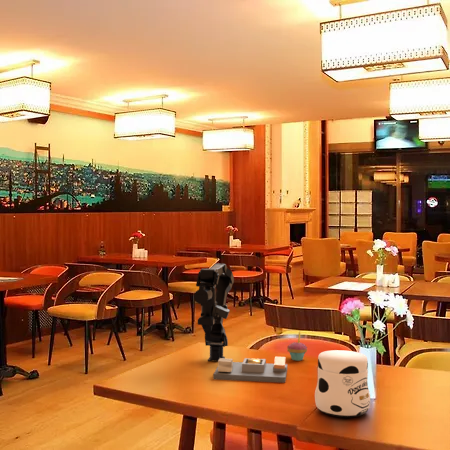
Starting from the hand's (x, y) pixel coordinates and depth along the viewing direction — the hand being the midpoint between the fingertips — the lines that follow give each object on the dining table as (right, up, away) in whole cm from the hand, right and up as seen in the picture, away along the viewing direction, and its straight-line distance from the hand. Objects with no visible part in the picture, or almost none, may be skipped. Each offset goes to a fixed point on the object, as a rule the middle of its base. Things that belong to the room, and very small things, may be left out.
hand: (208, 338), depth 238 cm
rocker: (+28, -7, -11) cm, 31 cm away
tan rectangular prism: (+7, -10, -13) cm, 18 cm away
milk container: (+44, -14, -51) cm, 69 cm away
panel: (+17, -12, -9) cm, 23 cm away
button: (+18, -10, -9) cm, 22 cm away
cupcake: (+38, -12, +13) cm, 41 cm away
